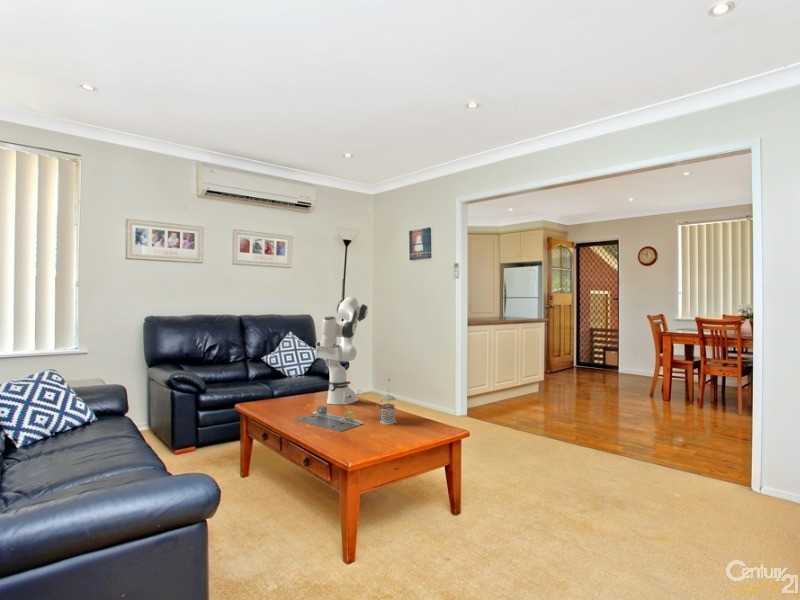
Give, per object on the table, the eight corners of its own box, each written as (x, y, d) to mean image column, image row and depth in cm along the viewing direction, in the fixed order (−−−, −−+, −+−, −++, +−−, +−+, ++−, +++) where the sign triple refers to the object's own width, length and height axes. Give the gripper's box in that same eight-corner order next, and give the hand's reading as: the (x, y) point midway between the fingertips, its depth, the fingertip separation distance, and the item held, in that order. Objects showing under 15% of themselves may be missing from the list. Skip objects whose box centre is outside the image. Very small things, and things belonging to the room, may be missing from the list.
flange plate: (313, 415, 275) (313, 414, 275) (358, 425, 254) (358, 424, 254) (295, 419, 264) (295, 418, 264) (340, 431, 242) (340, 430, 242)
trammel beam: (321, 413, 279) (321, 405, 279) (363, 423, 258) (363, 414, 258) (309, 416, 271) (309, 408, 271) (352, 427, 251) (352, 418, 251)
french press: (394, 425, 256) (395, 380, 256) (374, 423, 258) (375, 379, 258) (398, 420, 266) (399, 377, 266) (378, 419, 268) (379, 376, 268)
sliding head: (348, 417, 265) (349, 411, 265) (354, 418, 262) (354, 412, 262) (337, 420, 258) (337, 414, 258) (343, 421, 255) (343, 415, 255)
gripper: (345, 344, 274) (345, 367, 274) (321, 342, 286) (321, 364, 286) (337, 345, 269) (337, 369, 269) (313, 342, 281) (313, 365, 281)
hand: (328, 366), depth 278 cm, fingers closed
